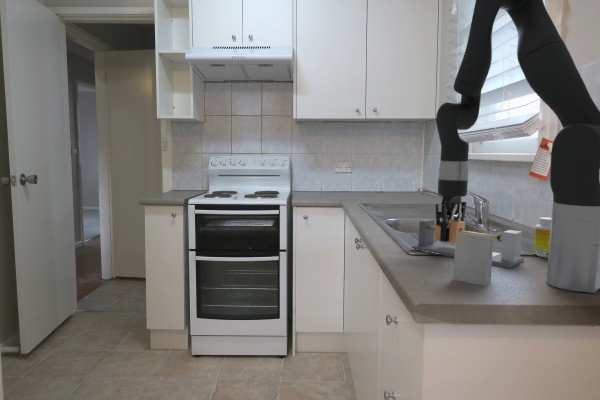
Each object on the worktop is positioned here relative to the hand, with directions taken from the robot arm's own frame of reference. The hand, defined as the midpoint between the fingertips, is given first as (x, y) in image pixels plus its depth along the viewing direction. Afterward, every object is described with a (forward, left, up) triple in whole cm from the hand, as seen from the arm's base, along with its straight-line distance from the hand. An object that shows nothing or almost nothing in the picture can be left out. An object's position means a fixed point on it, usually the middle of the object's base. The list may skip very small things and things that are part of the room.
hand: (449, 239), depth 120 cm
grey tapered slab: (-16, +22, -4) cm, 27 cm away
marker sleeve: (0, 0, 0) cm, 0 cm away
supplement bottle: (-20, -16, -4) cm, 26 cm away
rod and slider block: (-5, 0, -3) cm, 6 cm away
